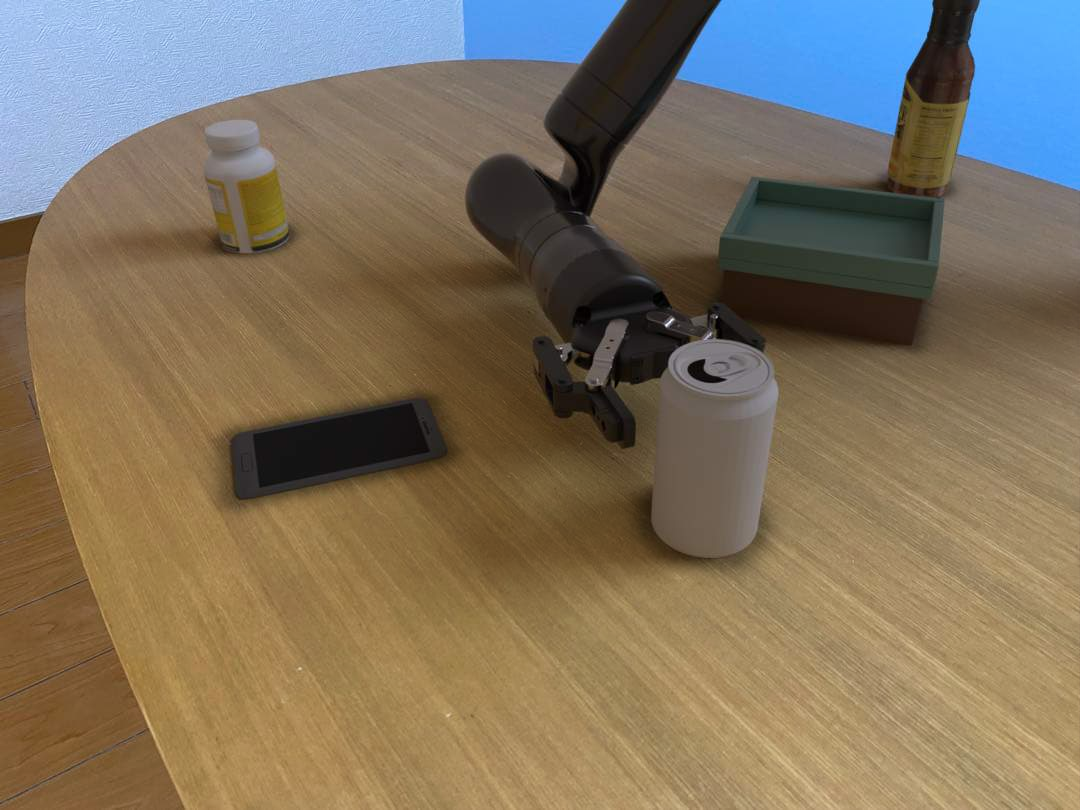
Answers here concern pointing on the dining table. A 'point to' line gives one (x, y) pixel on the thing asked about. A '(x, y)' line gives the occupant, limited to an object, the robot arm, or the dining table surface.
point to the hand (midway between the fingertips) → (697, 420)
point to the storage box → (831, 258)
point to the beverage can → (712, 446)
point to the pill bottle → (244, 188)
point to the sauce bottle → (934, 103)
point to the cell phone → (334, 447)
